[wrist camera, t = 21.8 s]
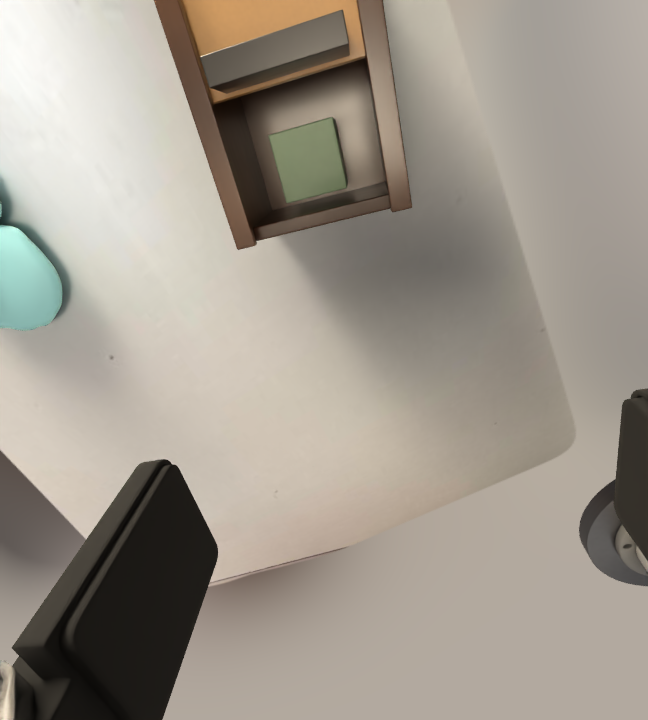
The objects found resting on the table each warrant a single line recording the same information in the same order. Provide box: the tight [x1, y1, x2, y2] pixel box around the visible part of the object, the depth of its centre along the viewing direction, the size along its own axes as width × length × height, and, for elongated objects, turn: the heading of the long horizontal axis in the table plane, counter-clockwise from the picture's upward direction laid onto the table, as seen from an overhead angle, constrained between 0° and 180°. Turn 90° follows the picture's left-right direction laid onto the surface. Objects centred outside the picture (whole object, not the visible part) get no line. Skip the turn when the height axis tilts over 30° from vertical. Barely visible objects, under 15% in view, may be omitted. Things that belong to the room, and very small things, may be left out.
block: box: [269, 117, 348, 203], centre depth 28 cm, size 4×4×4 cm
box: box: [154, 0, 412, 250], centre depth 24 cm, size 13×10×9 cm
